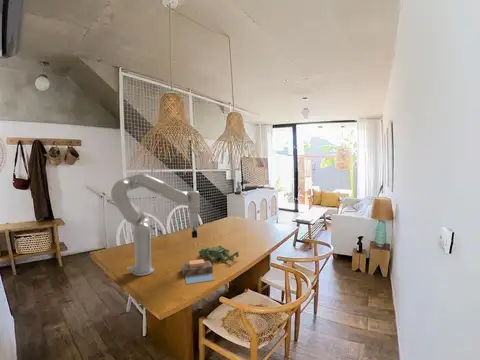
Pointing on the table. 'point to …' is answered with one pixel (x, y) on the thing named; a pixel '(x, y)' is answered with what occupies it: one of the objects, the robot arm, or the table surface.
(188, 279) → the mat
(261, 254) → the table surface
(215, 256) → the toy
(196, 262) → the tan flat block
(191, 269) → the plate
